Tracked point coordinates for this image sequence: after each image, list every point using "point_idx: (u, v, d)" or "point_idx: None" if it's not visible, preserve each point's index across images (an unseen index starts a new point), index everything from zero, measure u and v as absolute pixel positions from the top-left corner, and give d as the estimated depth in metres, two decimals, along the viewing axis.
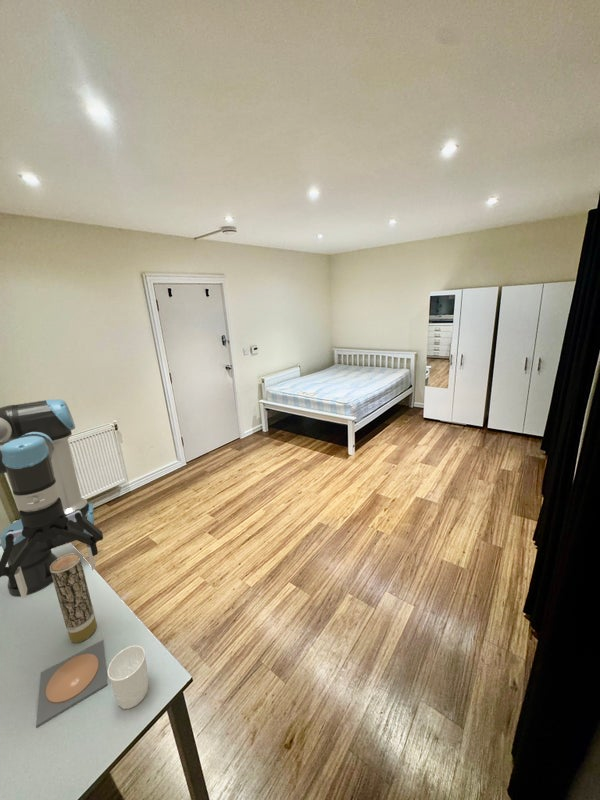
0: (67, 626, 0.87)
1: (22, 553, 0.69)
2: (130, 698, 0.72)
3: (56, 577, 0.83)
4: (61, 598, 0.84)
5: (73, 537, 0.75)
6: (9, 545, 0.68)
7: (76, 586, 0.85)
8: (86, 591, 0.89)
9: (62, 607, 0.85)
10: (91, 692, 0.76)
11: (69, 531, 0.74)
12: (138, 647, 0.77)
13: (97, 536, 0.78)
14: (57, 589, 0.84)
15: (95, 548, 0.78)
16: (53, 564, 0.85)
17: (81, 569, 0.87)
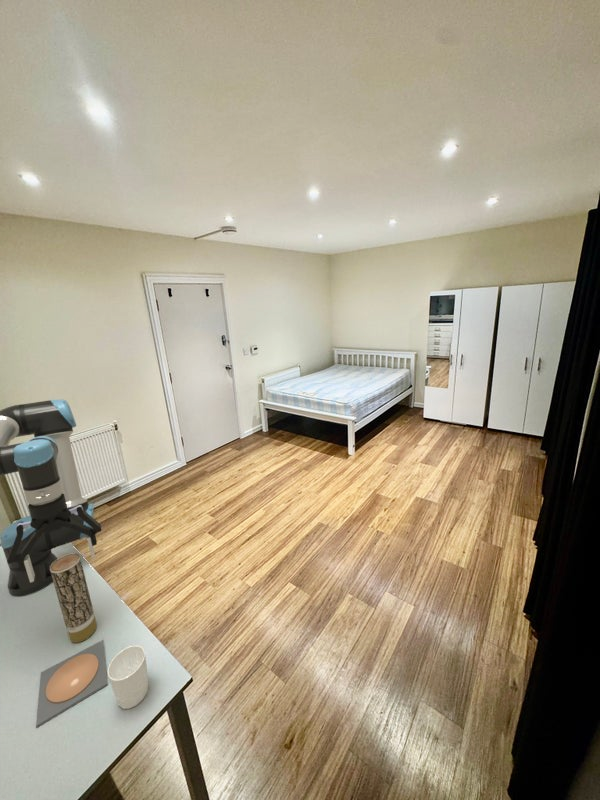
0: (67, 626, 0.87)
1: (30, 542, 0.79)
2: (130, 698, 0.72)
3: (56, 577, 0.83)
4: (61, 598, 0.84)
5: (75, 528, 0.85)
6: (19, 535, 0.78)
7: (76, 586, 0.85)
8: (86, 591, 0.89)
9: (62, 607, 0.85)
10: (91, 692, 0.76)
11: (71, 523, 0.84)
12: (138, 647, 0.77)
13: (96, 528, 0.88)
14: (57, 589, 0.84)
15: (94, 539, 0.88)
16: (53, 564, 0.85)
17: (81, 569, 0.87)
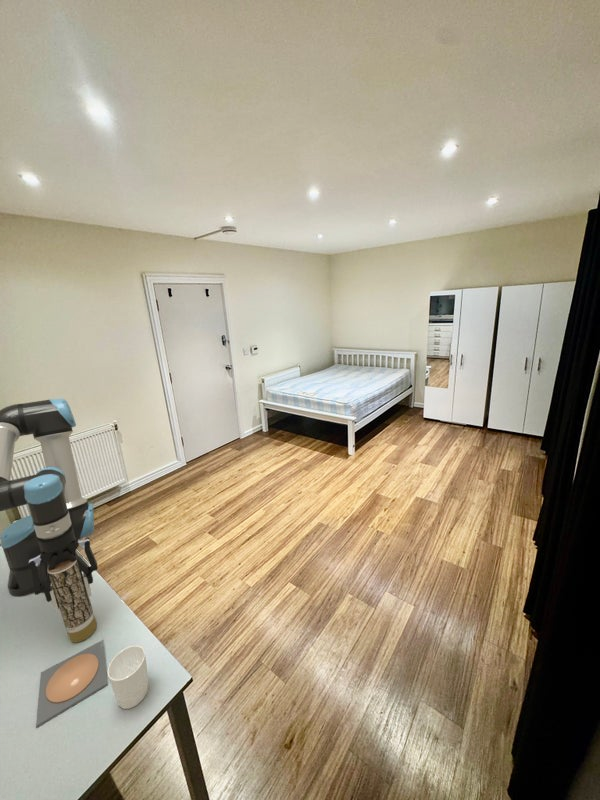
0: (66, 626, 0.87)
1: (48, 574, 0.83)
2: (130, 698, 0.72)
3: (53, 578, 0.82)
4: (59, 599, 0.84)
5: None
6: (34, 570, 0.81)
7: (74, 587, 0.85)
8: (85, 591, 0.88)
9: (61, 608, 0.85)
10: (91, 692, 0.76)
11: (76, 557, 0.86)
12: (138, 647, 0.77)
13: (93, 566, 0.89)
14: (55, 590, 0.84)
15: (91, 577, 0.90)
16: None
17: (79, 569, 0.87)
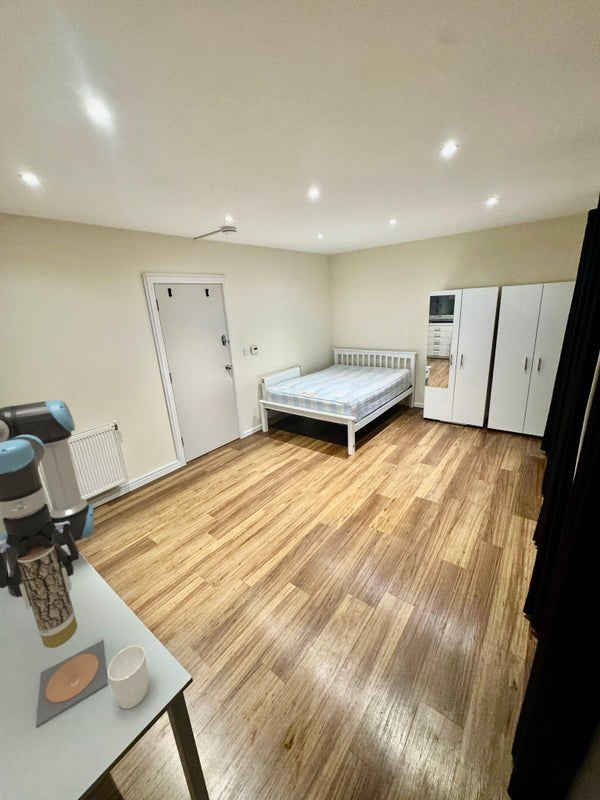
0: (39, 628, 0.71)
1: (17, 563, 0.67)
2: (130, 698, 0.72)
3: (24, 567, 0.67)
4: (31, 594, 0.68)
5: None
6: None
7: (50, 579, 0.70)
8: (63, 585, 0.73)
9: (33, 605, 0.69)
10: (91, 692, 0.76)
11: (52, 543, 0.70)
12: (138, 647, 0.77)
13: (74, 554, 0.73)
14: (25, 583, 0.68)
15: (70, 568, 0.74)
16: None
17: (57, 558, 0.71)
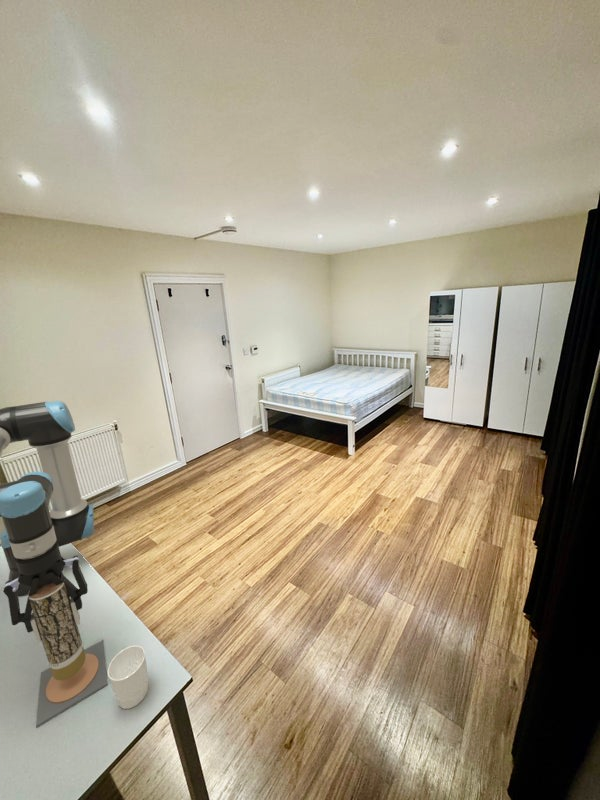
0: (50, 661, 0.73)
1: (28, 600, 0.70)
2: (130, 698, 0.72)
3: (35, 605, 0.69)
4: (42, 629, 0.71)
5: None
6: (11, 596, 0.68)
7: (60, 615, 0.72)
8: (72, 619, 0.75)
9: (43, 640, 0.72)
10: (91, 692, 0.76)
11: (62, 580, 0.73)
12: (138, 647, 0.77)
13: (83, 589, 0.76)
14: (36, 619, 0.70)
15: (79, 602, 0.76)
16: None
17: (66, 594, 0.74)
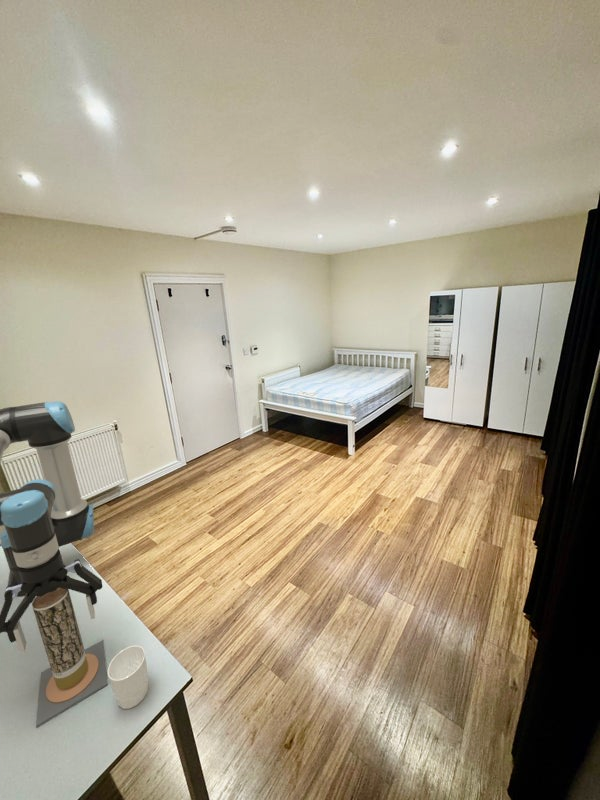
0: (53, 671, 0.74)
1: (21, 608, 0.69)
2: (130, 698, 0.72)
3: (39, 615, 0.70)
4: (45, 639, 0.72)
5: (72, 588, 0.74)
6: (8, 602, 0.67)
7: (63, 625, 0.73)
8: (75, 629, 0.76)
9: (47, 649, 0.73)
10: (91, 692, 0.76)
11: (68, 583, 0.74)
12: (138, 647, 0.77)
13: (96, 585, 0.77)
14: (40, 629, 0.71)
15: (94, 597, 0.78)
16: (36, 599, 0.72)
17: (69, 604, 0.75)
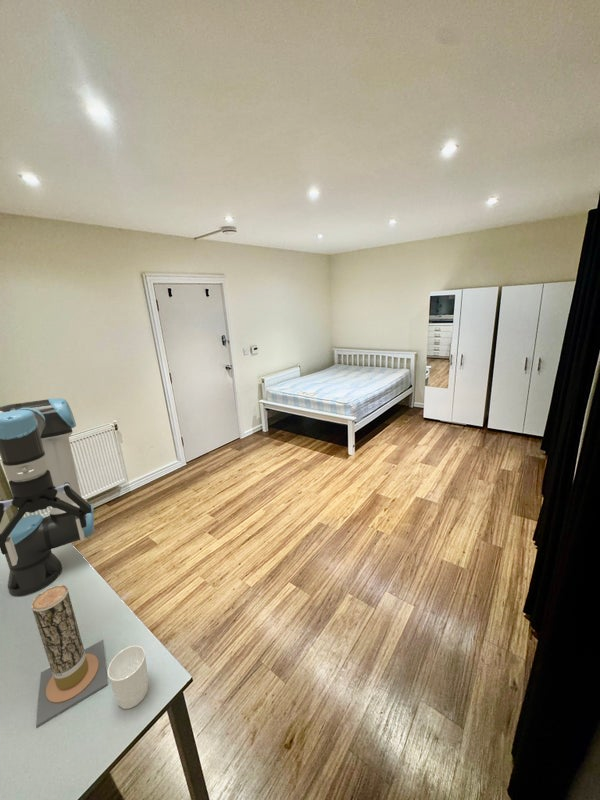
0: (53, 671, 0.74)
1: (12, 522, 0.72)
2: (130, 698, 0.72)
3: (38, 616, 0.70)
4: (45, 640, 0.72)
5: (62, 509, 0.77)
6: (0, 514, 0.70)
7: (63, 625, 0.73)
8: (75, 629, 0.76)
9: (46, 650, 0.73)
10: (91, 692, 0.76)
11: (58, 503, 0.77)
12: (138, 647, 0.77)
13: (86, 509, 0.80)
14: (40, 630, 0.71)
15: (84, 520, 0.81)
16: (36, 600, 0.72)
17: (69, 604, 0.74)
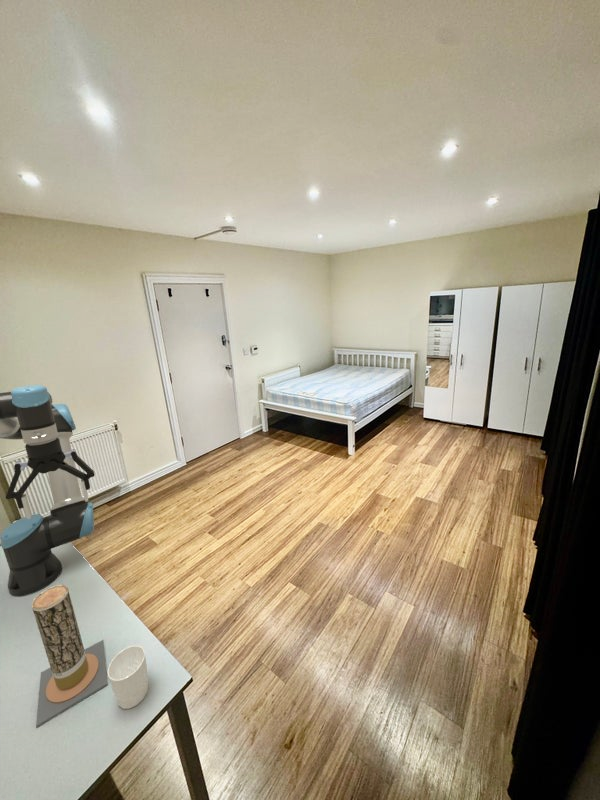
0: (53, 671, 0.74)
1: (27, 480, 0.85)
2: (130, 698, 0.72)
3: (38, 615, 0.70)
4: (45, 640, 0.72)
5: (69, 471, 0.90)
6: (17, 473, 0.83)
7: (63, 625, 0.73)
8: (75, 629, 0.76)
9: (47, 650, 0.73)
10: (91, 692, 0.76)
11: (66, 466, 0.89)
12: (138, 647, 0.77)
13: (89, 473, 0.93)
14: (40, 630, 0.71)
15: (88, 483, 0.94)
16: (36, 599, 0.72)
17: (69, 604, 0.75)
